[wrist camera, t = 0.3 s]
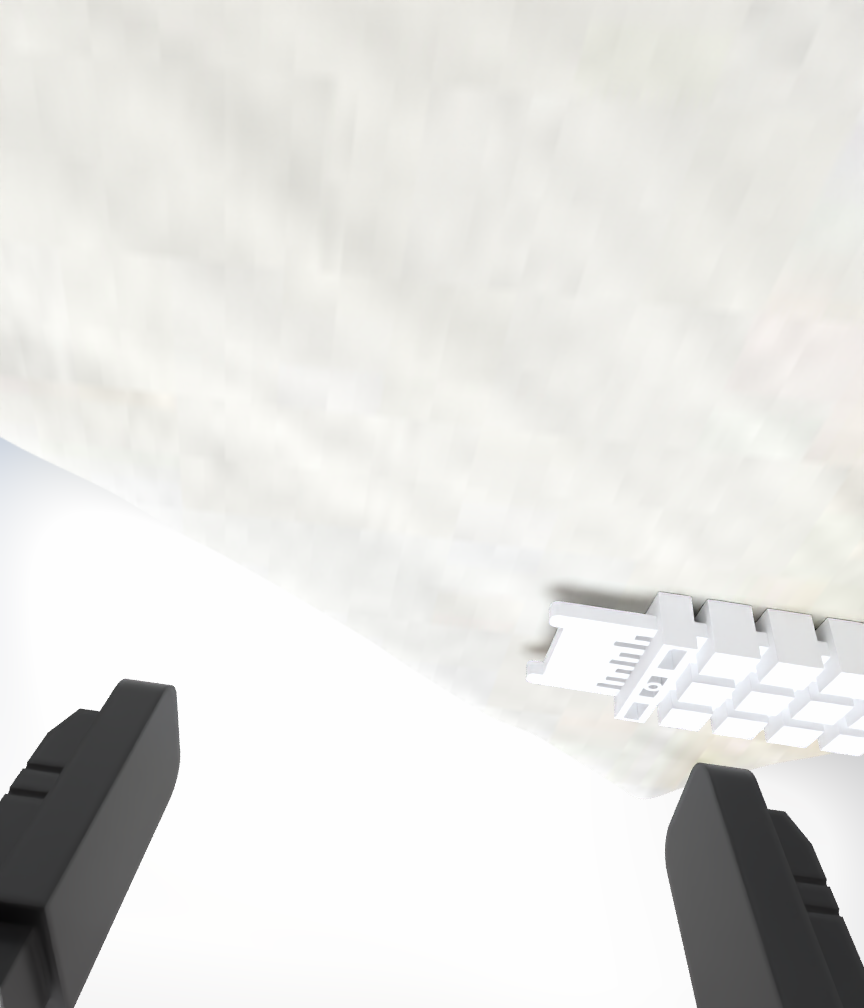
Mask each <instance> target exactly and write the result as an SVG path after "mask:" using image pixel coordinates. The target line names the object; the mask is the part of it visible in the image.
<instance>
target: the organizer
mask: <svg viewBox="0 0 864 1008" xmlns="http://www.w3.org/2000/svg"><path fill="white" fill-rule="evenodd" d="M549 624H550V625H551V626H553V627H558V629H557V632H556V634H555V636H554V639H553V641H552V643H551V645H550V648H549V650H548V652H547V655H546V657H545V659H544V662H543V661H537V660H531V661H529V662H528V663H527V665H526V681H527V682H530V683H535V684H542V685H548V686H555V687H561V688H568V689H574V690H581V691H587V692H594V693H600V694H607V695H613V696H614V713H615V719H621V720H627V721H634V722H640V723H644V722H645V721H646V720H647V718H648V717H649V716H650V714H651V713H652V712H653V710H654V709H655V708H656V706H657V710H658V722H659V725H660V726H666V727H672V728H679V729H685V730H692V731H699V730H700V728H701V727H702V726H703V725H704V724H705V723H706V722H707V720H708V719H709V718H711V726H712V734H718V735H724V736H731V737H737V738H743V739H750V740H752V739H753V738H754V737H755V736H756V735H757V734H758V733H759V732H760V731H761V730H762V729H763V728H764V732H765V738H766V742H769V743H776V744H782V745H789V746H795V747H802V748H806V747H807V746H808V745H810V744H811V743H812V742H813V741H814V740H816V739H818V743H819V748H820V750H821V751H827V752H834V753H841V754H847V755H853V756H861V755H862V754H863V753H864V623H860V622H853V621H847V620H840V619H834V618H827V619H826V620H825V621H824V622H823V623H822V624H821V625H820V626H819V627H818V628H817V629H816V630H815V628H814V624H813V620H812V616H811V615H808V614H801V613H795V612H788V611H782V610H775V609H769V608H768V609H767V610H766V611H765V612H764V613H763V615H762V616H761V617H760V618H759V620H758V621H757V622H756V623H754V618H753V612H752V607H751V606H749V605H743V604H736V603H730V602H723V601H717V600H710V599H707V601H706V602H705V604H704V605H703V607H702V608H701V610H700V611H699V612H698V614H697V615H696V617H695V618H694V613H693V606H692V598H691V596H685V595H678V594H672V593H665V592H658V594H657V595H656V597H655V599H654V600H653V602H652V604H651V605H650V607H649V609H648V611H647V612H646V614H640V613H634V612H627V611H621V610H614V609H608V608H601V607H595V606H588V605H582V604H575V603H569V602H562V601H555V602H552V603H551V605H550V608H549Z"/></svg>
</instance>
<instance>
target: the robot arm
mask: <svg viewBox="0 0 864 1008" xmlns="http://www.w3.org/2000/svg"><path fill="white" fill-rule="evenodd" d="M179 763H180V745H179V728H178V711H177V697H176V690H175V687H174V686H172V685H165V684H158V683H150V682H143V681H137V680H129V679H123V680H122V681H120V682H119V683H118V685H117V686H116V687H115V689H114V690H113V692H112V693H111V695H110V697H109V698H108V700H107V701H106V703H105V705H104V706H103V707H102V709H101V711H100V712H98V711H92V710H85V709H79V710H78V711H76V712H75V713H74V714H72V715H71V716H70V717H68V718H67V719H66V720H64V721H63V722H62V723H60V724H59V725H58V726H56V727H55V728H54V729H52V730H51V731H50V732H48V733H47V735H46V736H45V738H44V739H43V741H42V742H41V743H40V745H39V746H38V748H37V749H36V751H35V752H34V754H33V755H32V756H31V758H30V759H29V761H28V762H27V767H26V768H25V769H22V771H21V772H20V774H19V775H18V776H17V778H16V779H15V781H14V782H13V784H12V785H11V786H10V791H9V793H8V794H5V795H4V797H3V798H2V799H1V801H0V1008H74V1006H75V1004H76V1001H77V1000H78V997H79V995H80V993H81V991H82V989H83V986H84V984H85V982H86V980H87V978H88V976H89V973H90V971H91V969H92V967H93V965H94V962H95V960H96V958H97V956H98V954H99V952H100V950H101V947H102V945H103V943H104V941H105V939H106V937H107V934H108V932H109V930H110V928H111V926H112V924H113V921H114V919H115V917H116V915H117V913H118V910H119V908H120V906H121V904H122V902H123V900H124V897H125V895H126V893H127V891H128V889H129V886H130V884H131V882H132V880H133V878H134V875H135V873H136V871H137V869H138V867H139V865H140V862H141V860H142V858H143V856H144V854H145V852H146V850H147V847H148V845H149V843H150V841H151V838H152V837H153V834H154V832H155V830H156V828H157V826H158V823H159V821H160V819H161V817H162V815H163V812H164V811H165V808H166V806H167V804H168V802H169V800H170V797H171V795H172V792H173V790H174V786H175V783H176V779H177V775H178V770H179ZM665 860H666V869H667V873H668V878H669V883H670V887H671V892H672V896H673V901H674V905H675V910H676V914H677V919H678V923H679V928H680V932H681V937H682V941H683V946H684V950H685V955H686V959H687V964H688V968H689V973H690V977H691V981H692V986H693V990H694V995H695V999H696V1004H697V1008H864V967H863V964H862V962H861V960H860V957H859V955H858V953H857V950H856V948H855V945H854V943H853V941H852V938H851V936H850V934H849V931H848V929H847V926H846V924H845V922H844V919H843V917H840V916H839V908H838V905H837V903H836V901H835V898H834V896H833V893H832V891H831V889H830V887H827V885H826V877H825V875H824V872H823V870H822V867H821V865H820V863H819V861H818V858H817V856H816V853H815V851H814V849H813V846H812V844H811V843H810V842H809V841H808V839H807V838H806V837H805V835H804V834H803V833H802V832H801V831H800V829H799V828H798V827H797V826H796V825H795V823H794V822H793V821H792V820H791V818H790V817H789V816H788V815H787V814H786V812H784V811H777V810H770V809H767V806H766V804H765V801H764V798H763V796H762V793H761V791H760V788H759V785H758V783H757V781H756V778H755V776H754V775H753V773H751V771H749V770H747V769H740V768H733V767H726V766H719V765H712V764H705V763H697V764H696V765H695V766H694V767H693V769H692V771H691V773H690V776H689V778H688V781H687V783H686V785H685V788H684V790H683V793H682V795H681V798H680V800H679V803H678V805H677V807H676V810H675V812H674V815H673V817H672V820H671V822H670V825H669V827H668V831H667V836H666V844H665Z"/></svg>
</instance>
